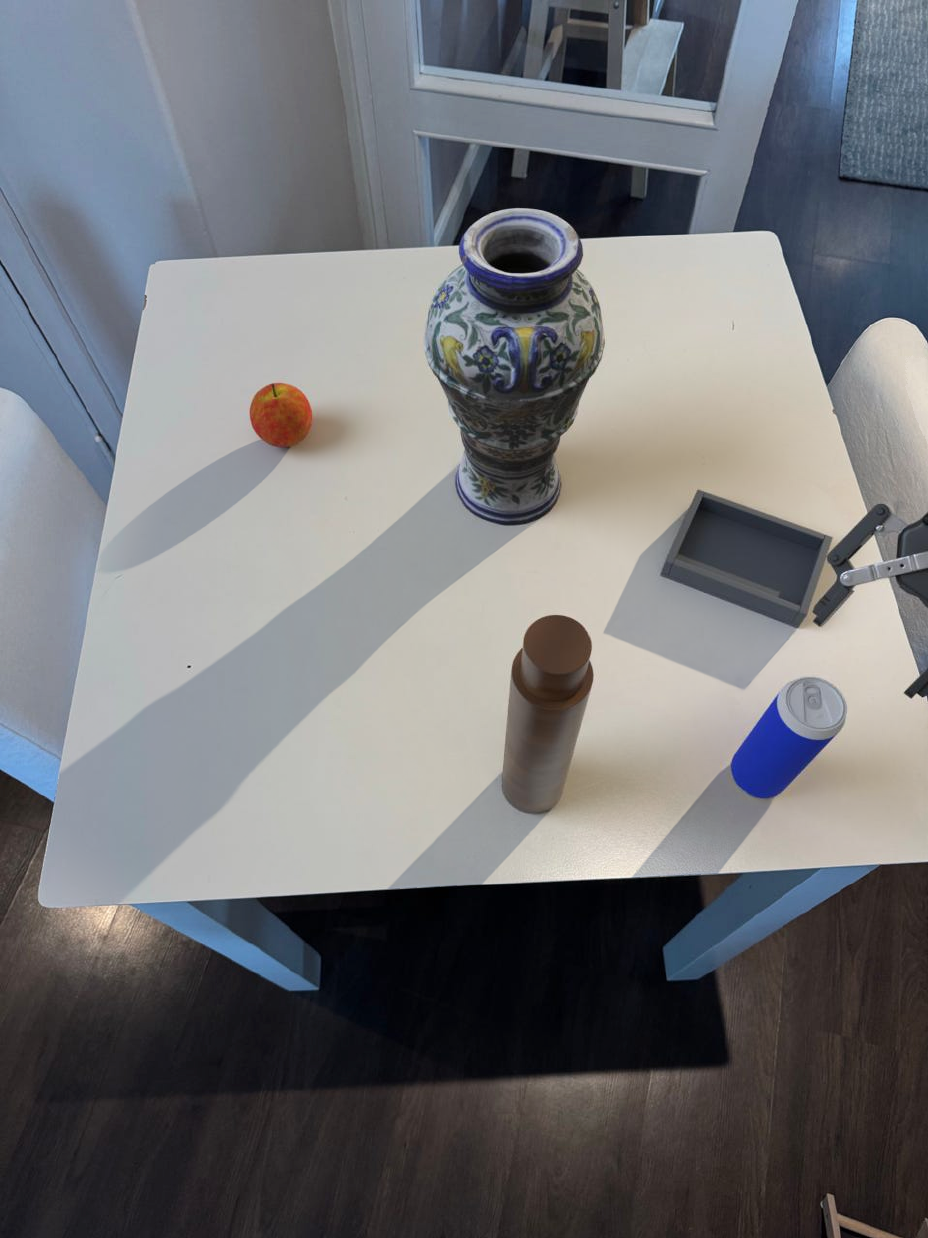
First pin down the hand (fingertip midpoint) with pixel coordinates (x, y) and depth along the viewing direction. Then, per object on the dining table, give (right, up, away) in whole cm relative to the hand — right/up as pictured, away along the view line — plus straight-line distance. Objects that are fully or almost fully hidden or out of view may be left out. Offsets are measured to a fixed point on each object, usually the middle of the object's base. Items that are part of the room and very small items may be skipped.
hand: (861, 658), depth 67 cm
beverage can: (-5, -11, +10) cm, 15 cm away
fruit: (-52, +24, +31) cm, 66 cm away
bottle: (-26, -12, +9) cm, 30 cm away
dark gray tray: (-2, +9, +21) cm, 23 cm away
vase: (-27, +18, +28) cm, 43 cm away
